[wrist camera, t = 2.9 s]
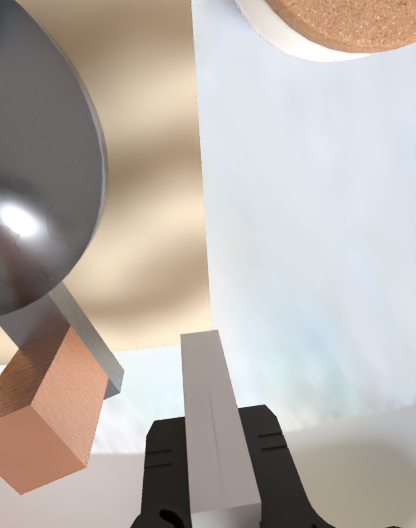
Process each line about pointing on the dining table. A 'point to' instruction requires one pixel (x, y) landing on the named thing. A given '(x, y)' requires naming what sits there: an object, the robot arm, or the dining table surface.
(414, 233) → the dining table surface
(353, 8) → the lidded jar
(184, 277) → the flange base
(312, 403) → the dining table surface
